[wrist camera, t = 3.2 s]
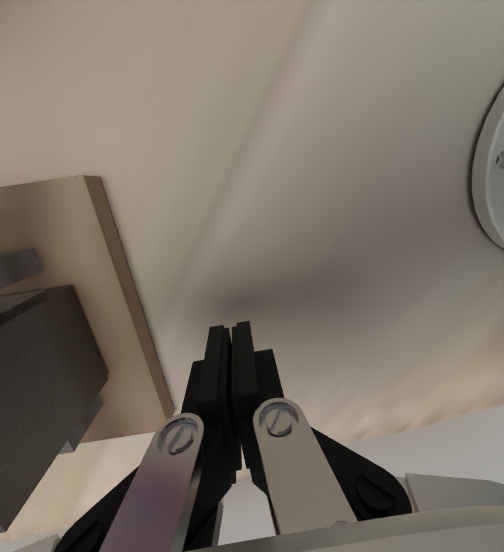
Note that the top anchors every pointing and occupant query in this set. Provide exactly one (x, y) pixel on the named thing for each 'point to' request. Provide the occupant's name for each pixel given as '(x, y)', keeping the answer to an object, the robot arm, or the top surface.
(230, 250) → the top surface
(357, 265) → the top surface
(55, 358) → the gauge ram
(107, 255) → the force tester
